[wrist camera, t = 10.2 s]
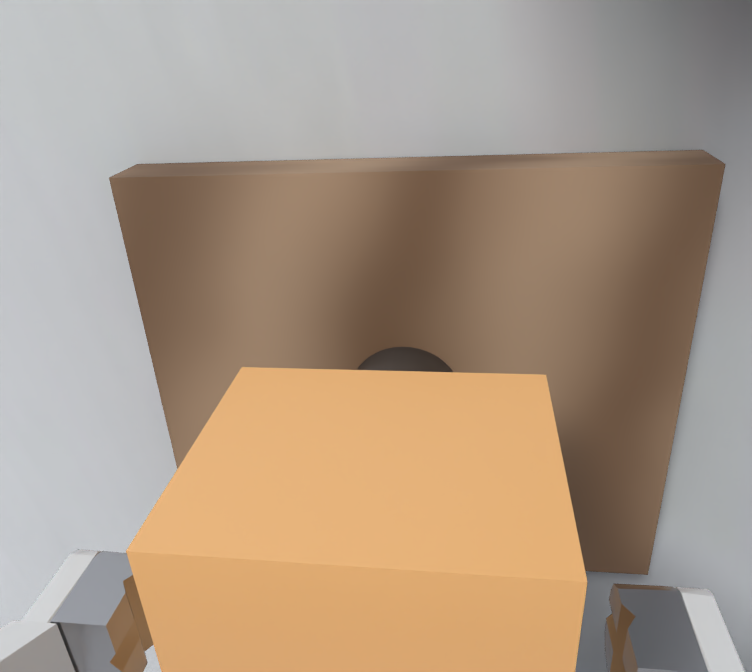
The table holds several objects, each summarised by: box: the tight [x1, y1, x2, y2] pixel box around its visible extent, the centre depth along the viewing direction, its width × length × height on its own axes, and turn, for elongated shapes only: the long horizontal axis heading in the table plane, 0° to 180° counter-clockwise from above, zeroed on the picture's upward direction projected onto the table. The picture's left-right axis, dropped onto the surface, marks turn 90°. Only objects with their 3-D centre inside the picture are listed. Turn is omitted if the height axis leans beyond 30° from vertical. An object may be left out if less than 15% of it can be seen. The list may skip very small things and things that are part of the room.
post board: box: [109, 150, 725, 575], centre depth 15 cm, size 14×12×10 cm
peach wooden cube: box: [126, 367, 587, 672], centre depth 12 cm, size 6×6×5 cm
